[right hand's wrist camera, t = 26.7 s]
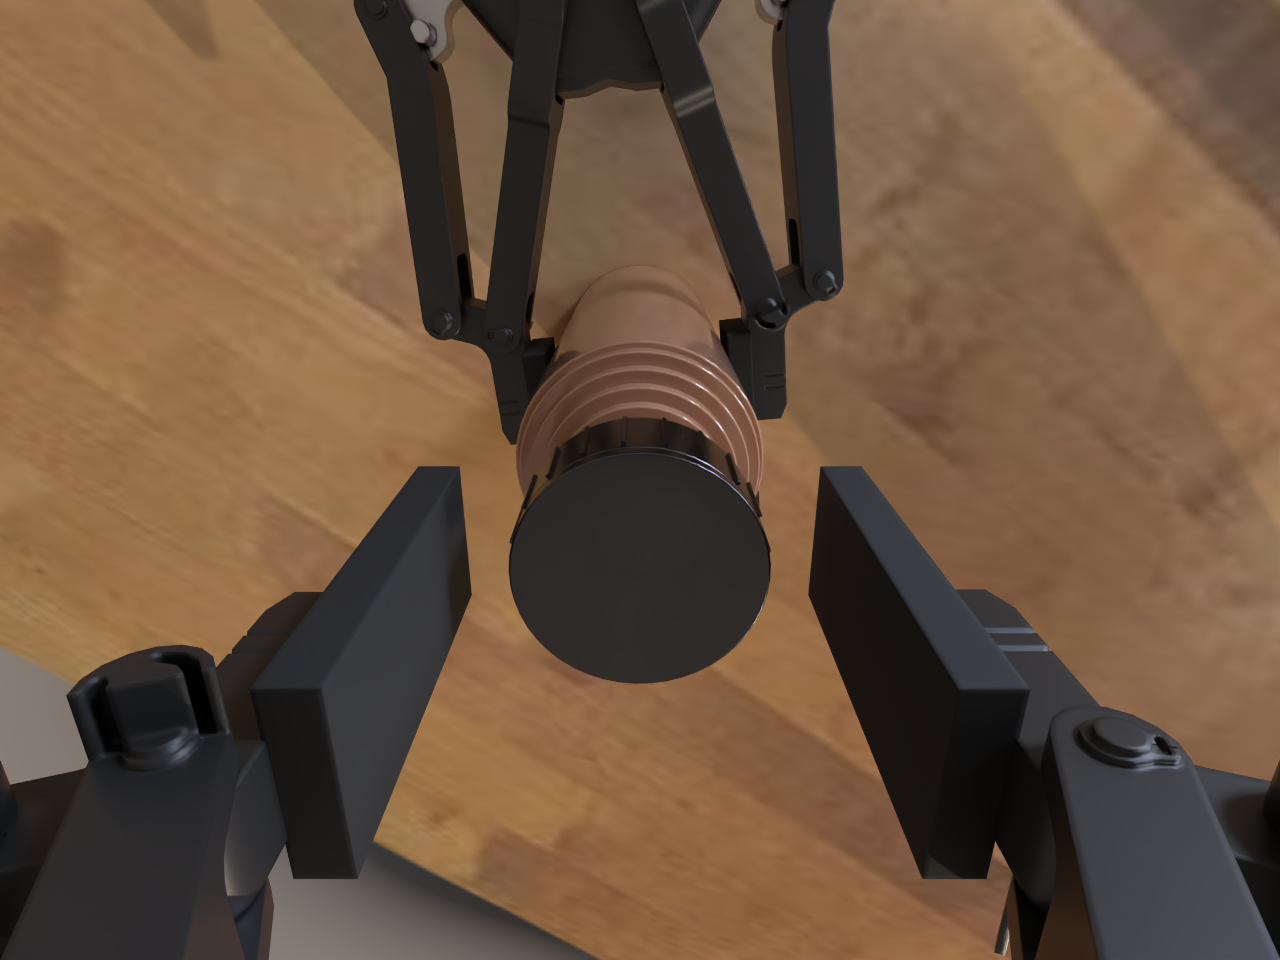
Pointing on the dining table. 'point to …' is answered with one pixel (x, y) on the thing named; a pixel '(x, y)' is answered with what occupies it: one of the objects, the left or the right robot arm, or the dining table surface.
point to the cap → (639, 552)
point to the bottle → (639, 372)
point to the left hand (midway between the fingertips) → (654, 511)
